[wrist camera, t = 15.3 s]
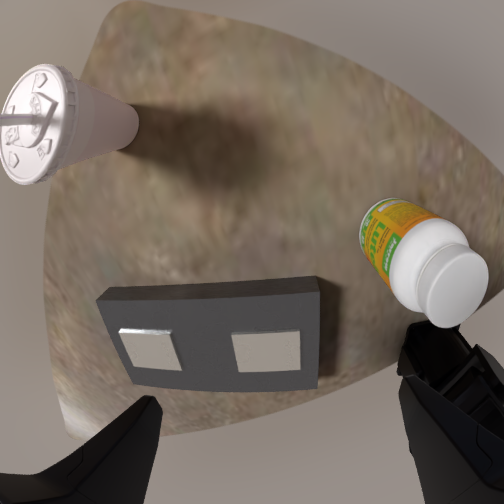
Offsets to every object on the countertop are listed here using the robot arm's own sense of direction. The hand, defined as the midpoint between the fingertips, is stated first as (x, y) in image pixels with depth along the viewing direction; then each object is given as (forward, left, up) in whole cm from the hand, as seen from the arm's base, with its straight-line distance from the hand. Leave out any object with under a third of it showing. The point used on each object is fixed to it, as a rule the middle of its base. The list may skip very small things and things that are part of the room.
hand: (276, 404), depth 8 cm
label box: (+6, +7, -13) cm, 16 cm away
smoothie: (+11, -12, -13) cm, 21 cm away
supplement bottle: (-9, -1, -13) cm, 16 cm away
